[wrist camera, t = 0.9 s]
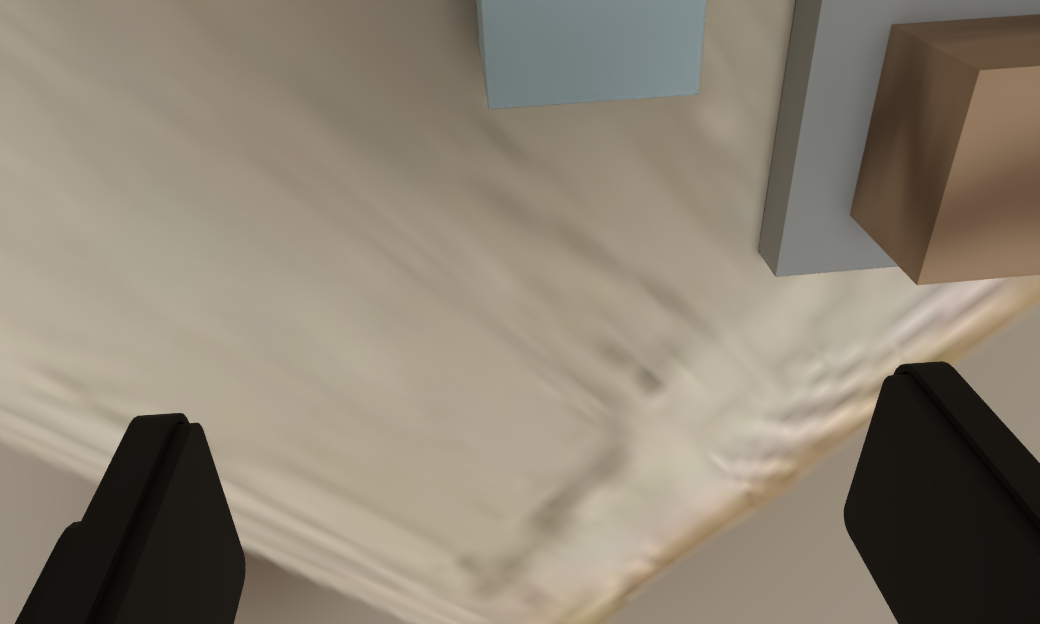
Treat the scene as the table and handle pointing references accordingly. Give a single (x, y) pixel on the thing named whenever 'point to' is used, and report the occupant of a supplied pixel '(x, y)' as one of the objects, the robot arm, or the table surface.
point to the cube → (588, 50)
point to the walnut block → (956, 150)
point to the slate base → (837, 126)
